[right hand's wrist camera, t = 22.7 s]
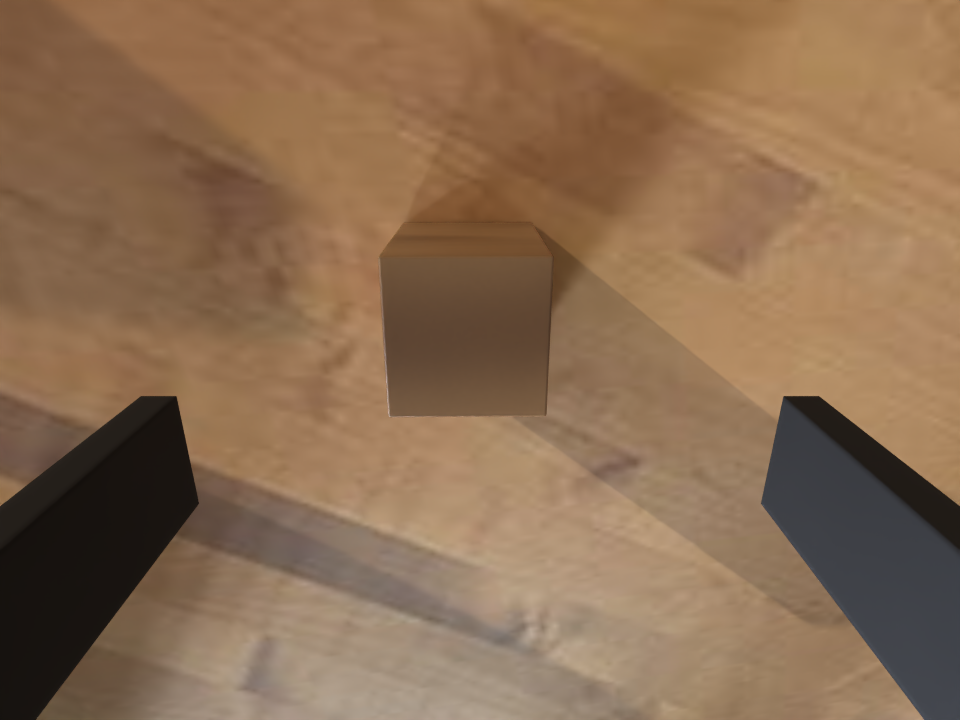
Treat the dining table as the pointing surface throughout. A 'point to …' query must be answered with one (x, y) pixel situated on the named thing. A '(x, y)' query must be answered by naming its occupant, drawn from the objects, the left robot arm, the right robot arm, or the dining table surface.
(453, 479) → the dining table surface
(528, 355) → the block
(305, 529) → the dining table surface
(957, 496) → the dining table surface
